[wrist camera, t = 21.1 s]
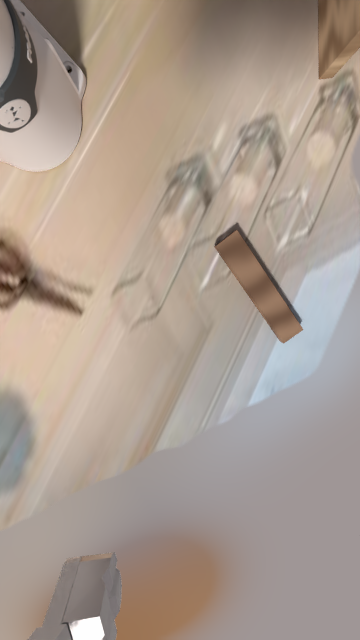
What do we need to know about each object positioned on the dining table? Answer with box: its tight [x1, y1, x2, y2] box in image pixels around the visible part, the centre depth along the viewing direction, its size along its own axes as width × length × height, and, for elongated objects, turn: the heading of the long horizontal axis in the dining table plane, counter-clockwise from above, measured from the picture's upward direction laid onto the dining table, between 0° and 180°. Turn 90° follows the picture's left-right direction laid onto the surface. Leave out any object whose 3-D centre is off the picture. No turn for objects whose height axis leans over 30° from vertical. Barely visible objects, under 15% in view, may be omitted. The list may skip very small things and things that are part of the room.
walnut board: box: [215, 230, 303, 344], centre depth 44 cm, size 20×4×2 cm, turn 37°
